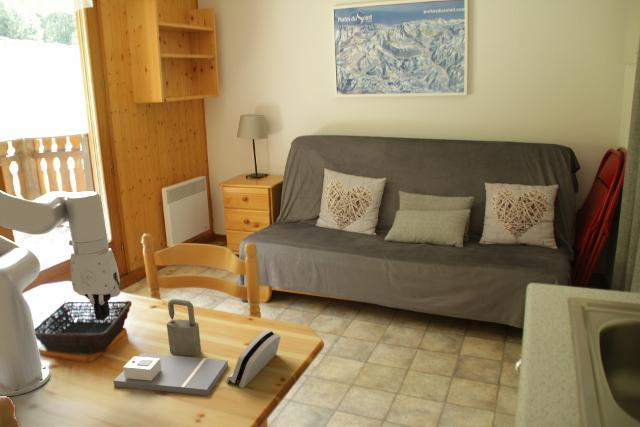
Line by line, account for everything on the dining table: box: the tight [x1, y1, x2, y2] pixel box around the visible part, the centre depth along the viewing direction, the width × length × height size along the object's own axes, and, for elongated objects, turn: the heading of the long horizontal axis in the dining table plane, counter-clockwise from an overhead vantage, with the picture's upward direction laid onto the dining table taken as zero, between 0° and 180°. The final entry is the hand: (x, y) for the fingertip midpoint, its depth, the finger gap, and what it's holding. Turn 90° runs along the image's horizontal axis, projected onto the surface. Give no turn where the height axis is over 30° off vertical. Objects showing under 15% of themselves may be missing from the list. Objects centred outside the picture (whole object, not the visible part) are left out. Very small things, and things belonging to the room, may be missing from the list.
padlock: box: [166, 298, 202, 357], centre depth 146 cm, size 4×8×15 cm, turn 71°
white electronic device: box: [122, 355, 161, 381], centre depth 134 cm, size 7×5×3 cm
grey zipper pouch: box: [225, 329, 281, 388], centre depth 137 cm, size 17×5×10 cm, turn 156°
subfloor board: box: [113, 352, 229, 396], centre depth 136 cm, size 24×13×2 cm, turn 78°
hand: (103, 317), depth 132 cm, fingers closed
